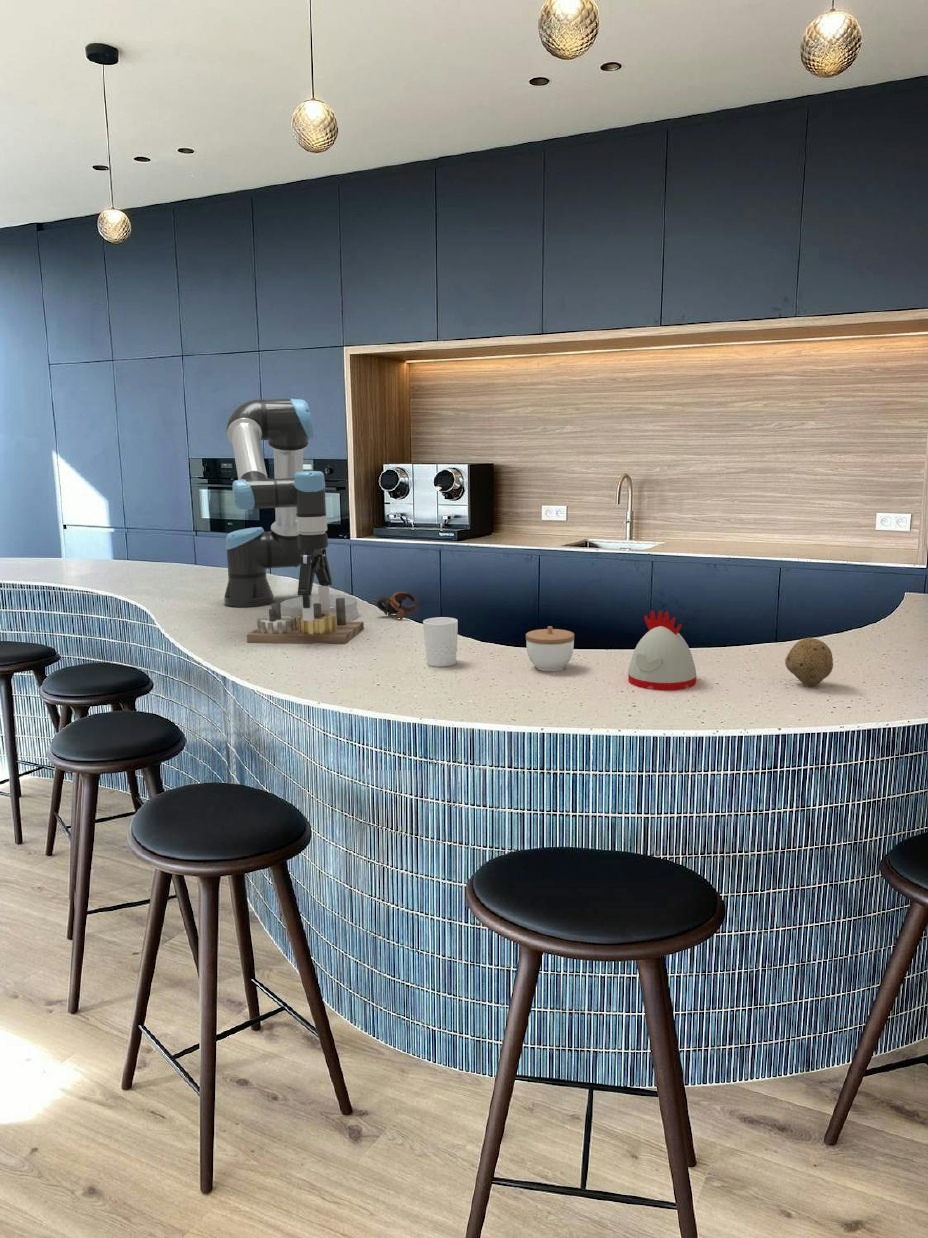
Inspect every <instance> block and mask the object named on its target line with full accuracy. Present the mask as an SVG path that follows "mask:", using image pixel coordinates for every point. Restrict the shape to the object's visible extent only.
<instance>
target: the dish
mask: <svg viewBox="0 0 928 1238" xmlns="http://www.w3.org/2000/svg"><path fill="white" fill-rule="evenodd" d="M336 598H345V614H346V621H351V620H352V621H354V620H356V619H357V618H358V617H359V609H358V601H357V600H358V599H356V597H352V596H348V595H339V594H329V599H330V610H321V612H327V613H328V612H332V613H333V614H336ZM315 603H319V594H318V595H313V604H315ZM280 606H281V615H285V616H290V615H291V616H293V617H296V621H297V617H298V615H302V614H303V613H302V596H299V597H292V598H289V599H285V600H284V601H282V602H280ZM336 618H337V615H336ZM353 619H354V620H353Z"/></svg>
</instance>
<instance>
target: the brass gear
mask: <svg viewBox="0 0 928 1238" xmlns="http://www.w3.org/2000/svg"><path fill="white" fill-rule="evenodd" d="M321 614H322V617H314V621H303V614H302V615H298V617H297V622H298V632H299V633H301V634H309V635H314V634H319V635H321V634H324V633H332V631H337V618H336V614H333V613H332V612H328V613H327V612H321Z"/></svg>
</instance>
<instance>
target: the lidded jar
mask: <svg viewBox="0 0 928 1238" xmlns="http://www.w3.org/2000/svg"><path fill="white" fill-rule="evenodd" d="M525 640H526V642H525V643H526V651H527V657H528V659H529V660H530V662H531V663H532V664H533V665H534V666H535V667H536V669H537V670H539V671H542V672H558V671H562V670H564V669H565V666H567V664H568V663H569V662H570V661H571V659H572V657H573V654H574V645H575V633H574V632H572V631H570V630H566V629H559V628H553V626H551V625H550V626H547V628H543V629H534V630H530V631H528V632H527V633H525Z"/></svg>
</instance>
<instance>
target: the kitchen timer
mask: <svg viewBox="0 0 928 1238" xmlns="http://www.w3.org/2000/svg"><path fill="white" fill-rule="evenodd" d="M643 618H644V621H645V625H646V627H647V629H648V631H647V632H646V633H645V634H644V635H643V636H642V638H640V640H639V641H638V643H637V644H636V647H635V648H634V650H633V654H632V656H631V659H630V663H629V665H628V672H627V673H628V674H627V676H628V679H627V681H628V683H629V684H631V685H632V686H635V687H637V688H641V689H645V690H651V691H681V690H686V689H690V688H692V687H694V686H695V685H696V683H697V670H696V665H695V662H694V661H695V660H694V659H693V655H692V651H691V649H690V647H689V645H688V643H687V642H686V640H685V639H684V637H683V636H682V634H680V630H681V627H682V623H680V624H678V625H677V627H676V628H675V623H676V617H672V619H670V614H669V611H666V612H664V616H663V611H662V610H660V611H658V612H657V618H656V614H655V611H654V610H651V611H650V613H649V617H648V616H647V615H644V616H643Z"/></svg>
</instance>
